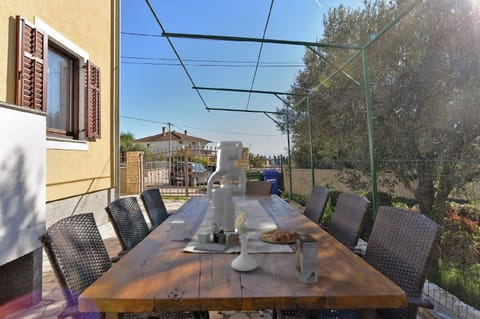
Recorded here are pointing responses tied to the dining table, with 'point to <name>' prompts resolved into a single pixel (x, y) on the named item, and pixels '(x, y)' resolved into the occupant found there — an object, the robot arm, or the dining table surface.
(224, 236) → the dice cube
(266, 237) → the rice dish
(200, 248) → the slate mat
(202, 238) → the sage block
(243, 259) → the flower in vase
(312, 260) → the coffee box
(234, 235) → the walnut block
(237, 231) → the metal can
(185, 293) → the dining table surface
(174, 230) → the small box
